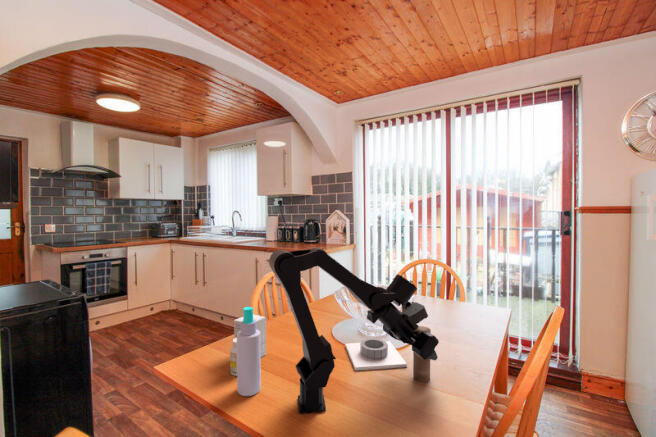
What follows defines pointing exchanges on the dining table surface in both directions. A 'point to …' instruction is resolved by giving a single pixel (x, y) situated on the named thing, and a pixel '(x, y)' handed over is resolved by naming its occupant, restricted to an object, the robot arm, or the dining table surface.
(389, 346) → the socket base plate
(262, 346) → the supplement box
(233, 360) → the supplement bottle
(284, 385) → the dining table surface
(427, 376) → the walnut shaft
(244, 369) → the spray bottle
